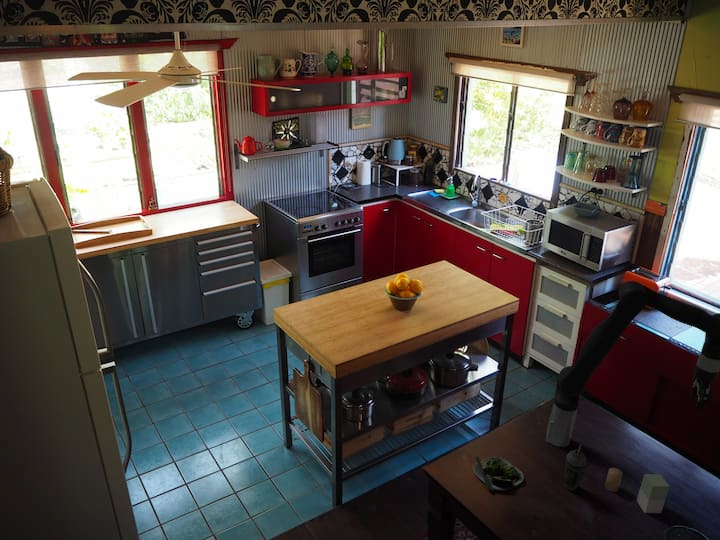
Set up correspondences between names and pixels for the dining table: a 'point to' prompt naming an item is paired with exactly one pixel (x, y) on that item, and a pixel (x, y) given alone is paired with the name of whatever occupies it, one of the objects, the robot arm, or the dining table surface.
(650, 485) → the mid block
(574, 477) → the beverage cup
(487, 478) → the salad plate
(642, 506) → the base block
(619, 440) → the dining table surface
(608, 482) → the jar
